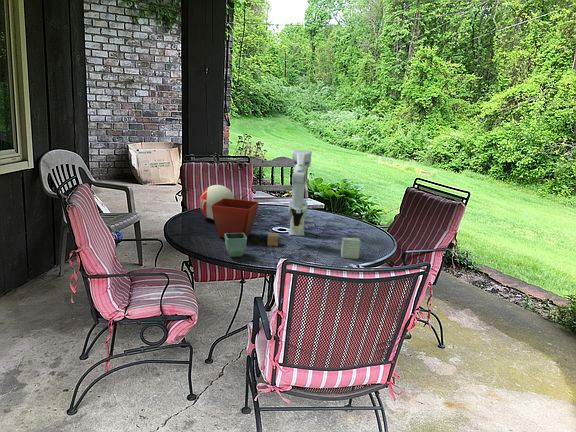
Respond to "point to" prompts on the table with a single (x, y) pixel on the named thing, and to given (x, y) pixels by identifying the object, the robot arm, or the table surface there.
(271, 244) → the tan wooden cube
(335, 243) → the table surface
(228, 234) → the flower pot
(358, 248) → the medicine box
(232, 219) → the plant pot
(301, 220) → the oak block
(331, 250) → the table surface
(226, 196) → the decorative sphere
